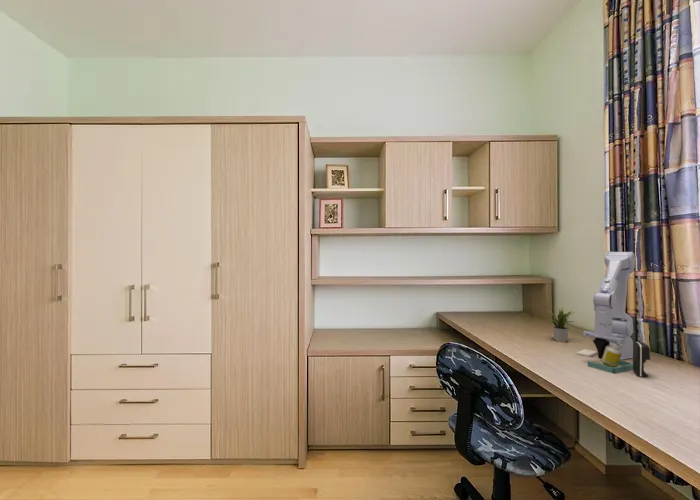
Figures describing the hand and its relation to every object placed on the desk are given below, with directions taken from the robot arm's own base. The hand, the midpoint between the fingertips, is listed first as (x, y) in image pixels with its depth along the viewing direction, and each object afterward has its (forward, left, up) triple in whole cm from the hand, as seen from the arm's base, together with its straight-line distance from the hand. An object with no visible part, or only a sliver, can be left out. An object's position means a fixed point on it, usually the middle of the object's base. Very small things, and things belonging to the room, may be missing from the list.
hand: (602, 358), depth 152 cm
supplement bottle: (-1, +2, -2) cm, 3 cm away
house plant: (-22, -33, -3) cm, 40 cm away
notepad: (-11, -13, -3) cm, 17 cm away
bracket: (-1, +3, -3) cm, 4 cm away
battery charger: (-2, +13, -3) cm, 13 cm away
